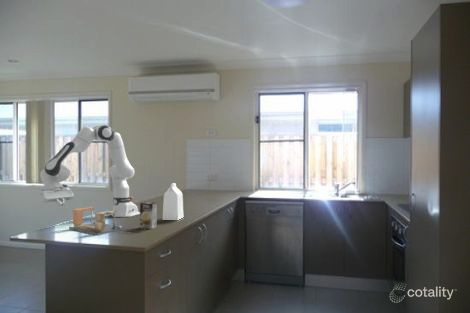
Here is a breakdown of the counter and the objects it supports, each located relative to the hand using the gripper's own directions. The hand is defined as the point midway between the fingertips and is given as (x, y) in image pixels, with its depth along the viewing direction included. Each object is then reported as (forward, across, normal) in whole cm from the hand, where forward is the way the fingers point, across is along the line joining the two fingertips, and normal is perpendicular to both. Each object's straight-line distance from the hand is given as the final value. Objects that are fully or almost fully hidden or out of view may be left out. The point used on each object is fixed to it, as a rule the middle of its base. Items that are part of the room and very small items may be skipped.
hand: (62, 204), depth 229 cm
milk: (+41, +58, -21) cm, 74 cm away
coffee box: (+45, +28, -26) cm, 59 cm away
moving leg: (+20, +5, -4) cm, 21 cm away
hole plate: (+29, +6, -10) cm, 32 cm away
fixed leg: (+29, +5, -11) cm, 31 cm away
